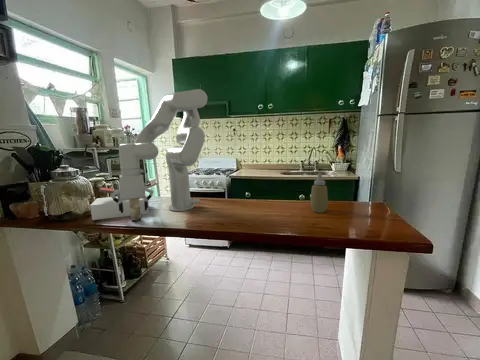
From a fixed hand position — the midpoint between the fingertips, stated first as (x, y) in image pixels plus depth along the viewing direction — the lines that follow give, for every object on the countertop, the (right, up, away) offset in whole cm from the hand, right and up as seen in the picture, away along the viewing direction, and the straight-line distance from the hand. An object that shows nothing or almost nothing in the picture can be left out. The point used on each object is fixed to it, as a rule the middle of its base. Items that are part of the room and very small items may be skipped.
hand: (134, 211), depth 107 cm
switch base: (-12, -3, +14) cm, 18 cm away
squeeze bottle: (+83, -1, +6) cm, 84 cm away
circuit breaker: (-42, -4, +15) cm, 44 cm away
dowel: (0, -4, +1) cm, 5 cm away
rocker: (-12, +8, +12) cm, 18 cm away
